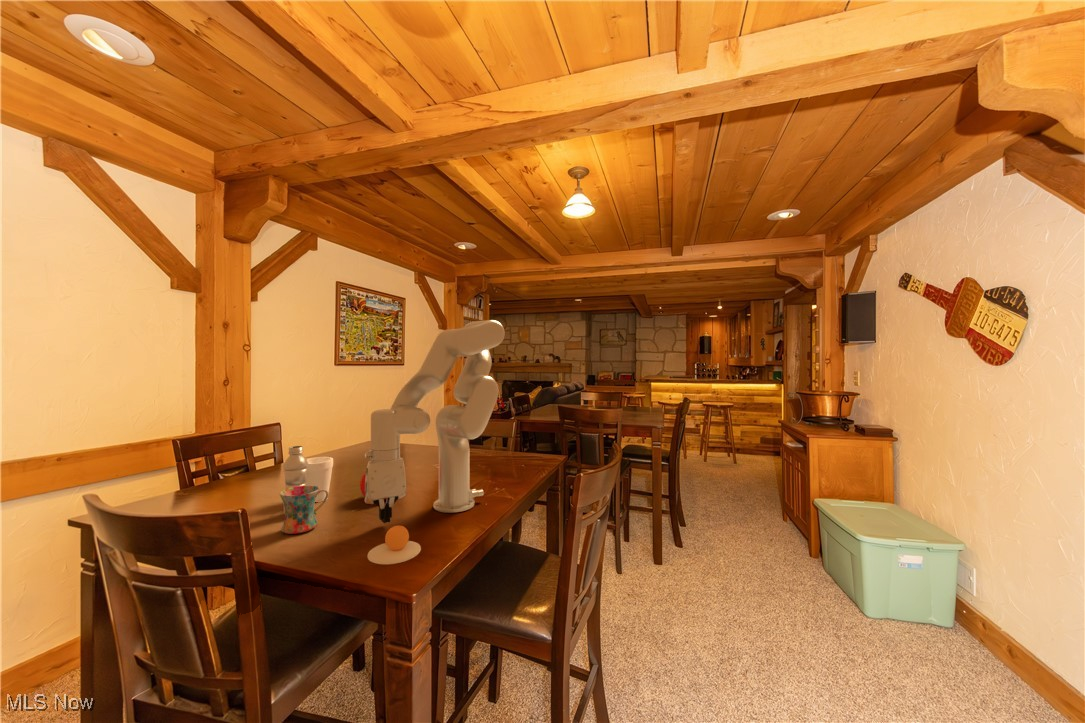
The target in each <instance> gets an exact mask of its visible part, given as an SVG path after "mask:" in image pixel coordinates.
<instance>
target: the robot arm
mask: <svg viewBox="0 0 1085 723" xmlns="http://www.w3.org/2000/svg"><path fill="white" fill-rule="evenodd" d="M505 333H506V330H505V328H504V326H503V325H502V323H501V322H499V321H498V320H495V319H487V320H477V321H476V320H475V321H471V322H469V323H467V324H465V325H464V326H463V327H461V328H451V329H445V330H443V331H441V332H440V333H438V335H437V336H436V338H435V339H434V341H433V343H432V345H431V348H430V349H429V351H428V354H427V355H426V357H425V359H424V361H423V362H422V365H421V367H420V368H419V370H418V372H416V374H414V375H413V376H412V377H411V378H410V379H409V381H407V383H405V385H404V386H403V387H401V390H400V391H398V393H397V396H396V398H395V399H394V400H393V403H392V405H391V407H390V408H384V409H376V410H373V412H371V415H370V449H369V451H367V452H365V453H364V457H365V458H364V459H367V458H368V459H369V460H368V461H367V465H366V472H365V473H366V479H365V494H366V496H364V502H365V504H367V505H368V504H369V505H374V506H377V507H378V518H379V520H380V521H381V522H382V523H383V524H386V523H390V522H391V518H392V517H393V507H394V504H395V503H396V502H397V501H398V500H400V499H402V498H404V497H405V496H407V495H406V493H407V478H406V476H407V474H406V467H405V462H404V458H403V457H401V443H400V442H401V435H418V434H419V435H420V434H422V433H424V432H425V431H426V430H427V429H428V428H429V426H430V423H431V417H430V414H429V413H428V412H427V411H426V410H425V409H423V408H421V407H420V408H419V407H418V406H419V404H420V402H422V400H423V399H424V397H425V396H427V395H428V394H430V393H432V392H433V391H435V390H437V389H438V388H440V387H442V386H443V385H445V384H446V383H447V380H448V378H449V376H450V374H451V372H452V370H453V368H454V366H455V364H456V362H457V360H458V358H461V357H465V358H466V359H465V362H464V366H463V367H462V370H461V372H460V374H459V376H458V378H457V379H456V382H455V384H454V388H453V392H452V393H453V397H454V399H455V400H456V401H457V402H459V403H461V404H465V406H463V405H458V404H448V405H446V406H443V407H441V409H439V411H438V412H437V414H436V416H435V430H436V434H437V435H436V436H437V442H438V499H437V500H435V501H434V502H433V505H432V506H433V509H434V510H435V511H437V512H439V513H447V514H448V513H449V514H451V513H460V512H461V513H462V512H464V511H465V512H466V511H468V510H471V509H472V508H474V506H475V497H483V496H484V493H485V492H484V490H483V488H481V489H478V490H477V489H476V488H473V489H471V488H470V485H471V484H470V481H471V480H470V478H471V477H470V475H471V473H470V471H471V470H470V454H471V453H470V452H471V451H470V443H469V440H475V439H477V438H479V437H480V436H481V435H482V434H483V432H485V429H486V427H487V426H488V423H489V421H490V418H491V417H492V413H493V411H494V409H495V406H496V404H497V401H498V397H499V387H498V386H499V385H498V383H497V381H496V380H495V379H494V378H493V377H491V376H489V373H490V371H491V368H492V364H493V362H492V356H491V353H490V350H491V349H493V348H496V347H498V346H499V345H500V344H502V343H503V340H504V339H505V336H506V335H505ZM384 498H387V499H386V503H385V500H384Z"/></svg>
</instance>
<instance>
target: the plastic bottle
mask: <svg viewBox="0 0 1085 723" xmlns="http://www.w3.org/2000/svg"><path fill="white" fill-rule="evenodd" d="M287 453H288V455H289V456H288V457H287V458H286V460H285V461H284V463H283V474H284V480H285V489H288V488H292V487H297V486H306V476H307V469H308V462H307V460H306V459H307V458H306V457H305V456H304V455H303V453H304V446H303V445H293V446H290V447H289V448H288V452H287ZM282 509H283V513H284V514H285V507H284V504H283V507H282Z"/></svg>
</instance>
